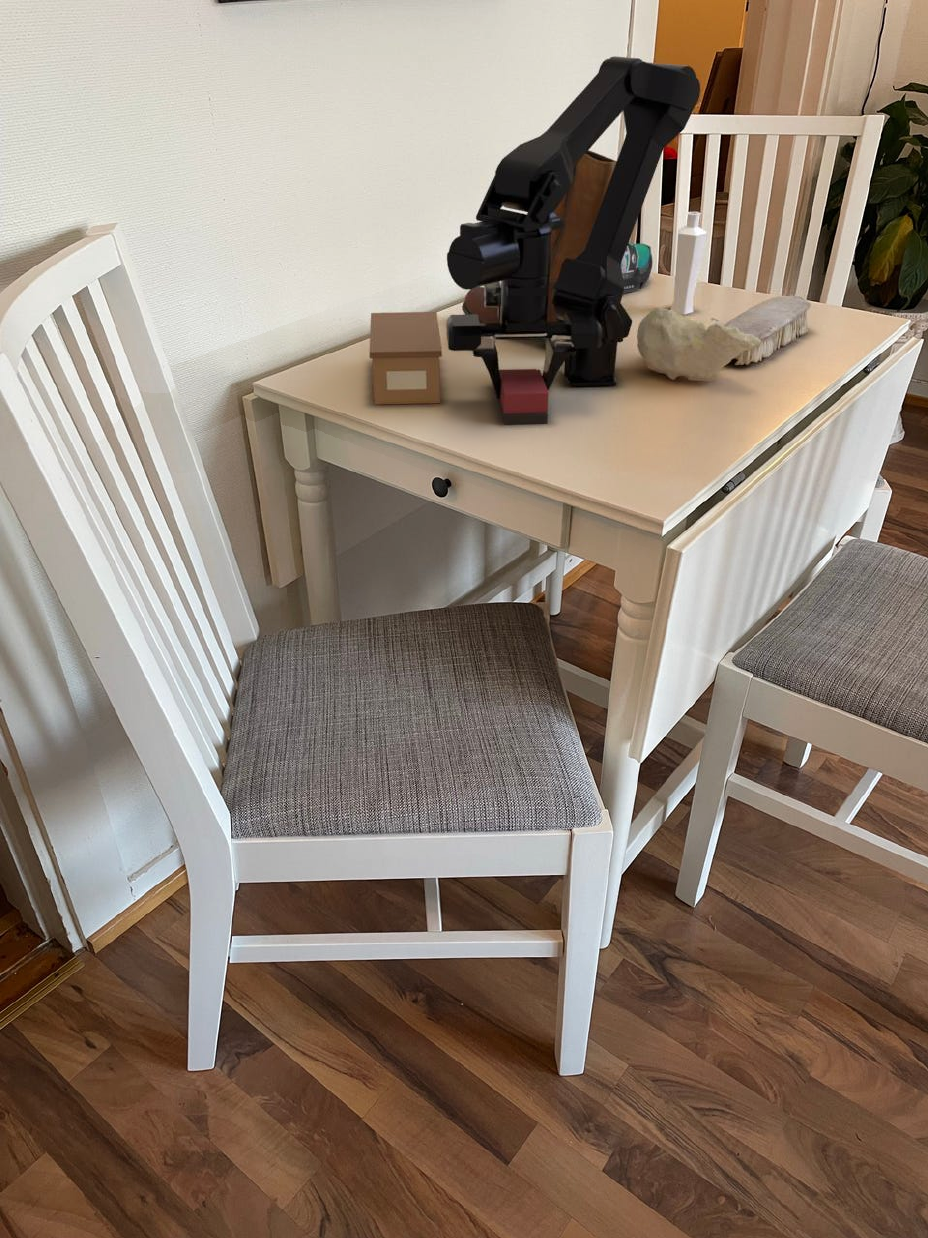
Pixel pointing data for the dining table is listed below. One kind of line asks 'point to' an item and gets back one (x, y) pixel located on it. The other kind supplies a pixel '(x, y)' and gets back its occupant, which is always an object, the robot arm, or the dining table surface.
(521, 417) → the dark red two-tone block
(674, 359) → the beige lumpy irregular piece
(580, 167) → the boot
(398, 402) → the shoebox
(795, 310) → the shoe brush
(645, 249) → the sneaker
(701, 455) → the dining table surface
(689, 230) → the perfume bottle
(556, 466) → the dining table surface
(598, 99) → the robot arm
